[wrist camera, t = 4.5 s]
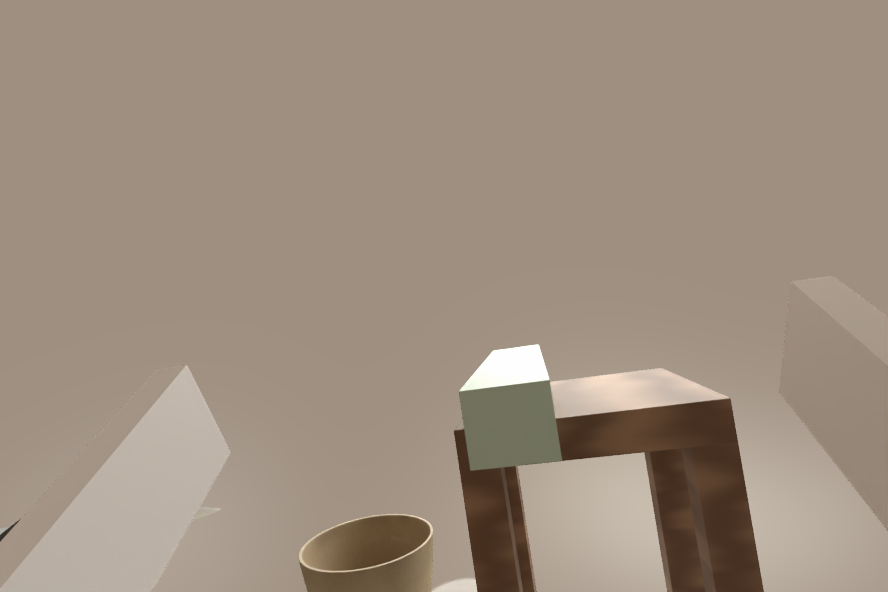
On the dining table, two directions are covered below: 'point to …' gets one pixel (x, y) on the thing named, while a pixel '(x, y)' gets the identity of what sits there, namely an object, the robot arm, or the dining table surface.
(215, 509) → the dining table surface
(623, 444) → the walnut stool
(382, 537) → the plant pot
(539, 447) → the green block
